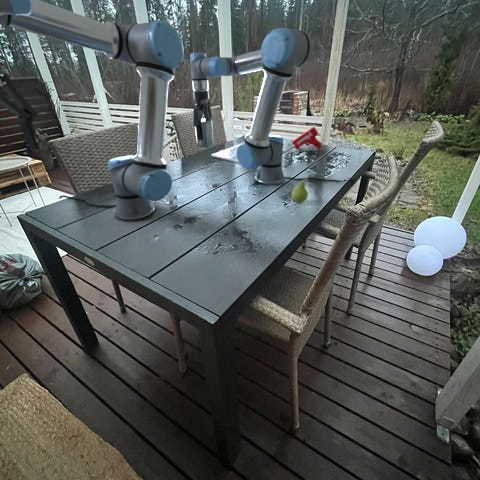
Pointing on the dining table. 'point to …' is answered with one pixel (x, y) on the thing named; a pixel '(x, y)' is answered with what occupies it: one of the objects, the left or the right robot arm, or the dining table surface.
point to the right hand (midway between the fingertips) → (204, 137)
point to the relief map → (228, 154)
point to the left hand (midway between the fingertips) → (7, 155)
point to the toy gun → (308, 139)
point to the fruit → (300, 192)
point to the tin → (205, 134)
